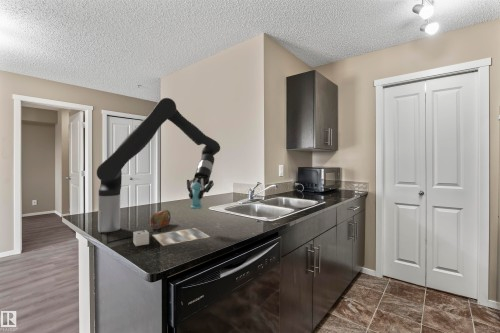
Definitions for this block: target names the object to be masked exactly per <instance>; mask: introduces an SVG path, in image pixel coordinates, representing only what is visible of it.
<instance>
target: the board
mask: <svg viewBox="0 0 500 333" xmlns="http://www.w3.org/2000/svg"><path fill="white" fill-rule="evenodd" d="M151 236H152V237H153V238H154V239H155V240H156V241H157V242H159V244H160V245H162V246H163V247H164V246H169V245H174V244H179V243H184V242H188V241H189V242H190V241H195V240H202V239H206V238H210V237H211V236H210V235H208V234H207V233H204V232H203V231H202V230H199V229H198V228H195V227H193V228H186V229H180V230H174V231H168V232H163V233H156V234H152V235H151Z"/></svg>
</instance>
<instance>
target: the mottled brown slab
mask: <svg viewBox="0 0 500 333" xmlns="http://www.w3.org/2000/svg"><path fill="white" fill-rule="evenodd" d="M171 218H172V217H171V212H170V210H168V209H163V210H160V211H157V212H155V213H153V214H152V215H151V216H150V227H151V229H152V230H156V231H157V230H159V229H162V228H163V227H168V226H169V224H170V222H171Z"/></svg>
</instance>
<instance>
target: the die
mask: <svg viewBox="0 0 500 333" xmlns="http://www.w3.org/2000/svg"><path fill="white" fill-rule="evenodd" d="M132 243H133V244H134V246H135V247H139V246H144V245H149V244H150V232H149V231H148V230H147V229H144V230H137V231H133V232H132Z"/></svg>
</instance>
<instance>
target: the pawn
mask: <svg viewBox="0 0 500 333" xmlns="http://www.w3.org/2000/svg"><path fill="white" fill-rule="evenodd" d="M192 185H193V186H192ZM192 185H191V187H192V188H193V193H192V199H191V200H192V202H191V203H192V204H191V205H190V209H191V210H201V209H202V208H203V205H202V204H201V202H202V198H201V199H199V198H198V196H199V193H200V191H201V185H200V183H198V182H196V183H194V184H193V183H192Z"/></svg>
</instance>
